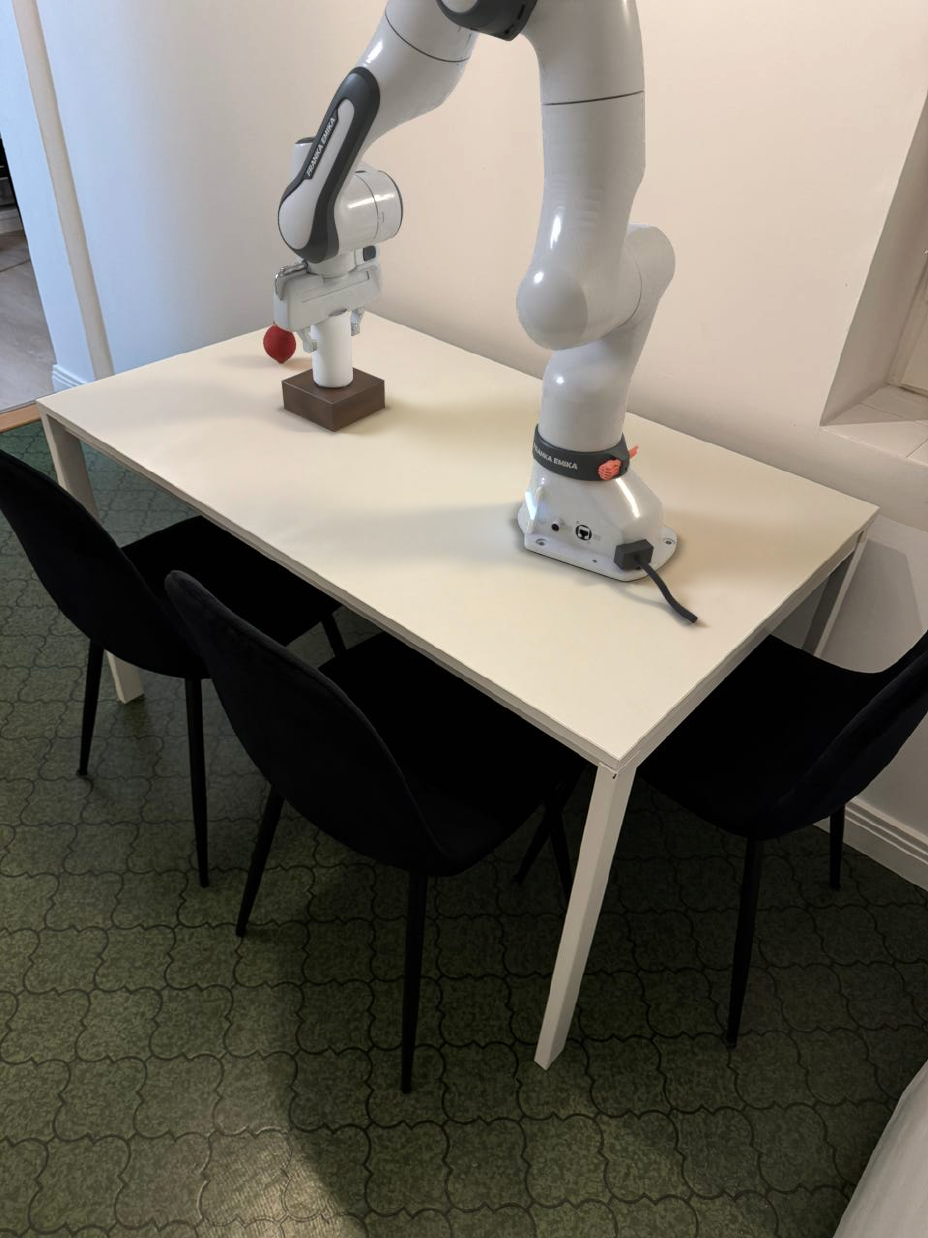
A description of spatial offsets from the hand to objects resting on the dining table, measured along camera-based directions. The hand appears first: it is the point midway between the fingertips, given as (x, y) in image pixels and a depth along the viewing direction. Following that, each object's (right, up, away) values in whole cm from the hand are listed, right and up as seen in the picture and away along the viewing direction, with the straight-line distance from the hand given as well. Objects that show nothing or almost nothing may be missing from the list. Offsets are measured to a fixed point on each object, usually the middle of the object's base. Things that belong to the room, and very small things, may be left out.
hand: (332, 342), depth 145 cm
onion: (-12, +2, +21) cm, 24 cm away
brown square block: (-1, -9, +7) cm, 12 cm away
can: (0, -5, +4) cm, 7 cm away
